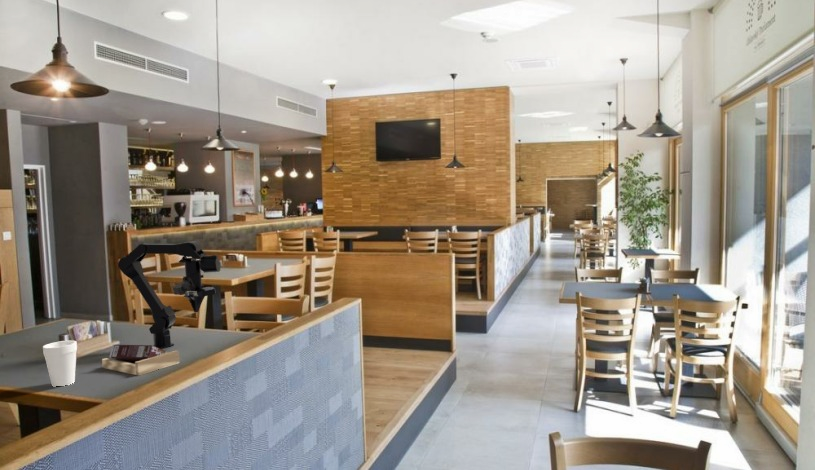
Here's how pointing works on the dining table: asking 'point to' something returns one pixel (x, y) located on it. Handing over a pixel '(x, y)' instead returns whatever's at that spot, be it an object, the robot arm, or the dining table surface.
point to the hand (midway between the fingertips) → (196, 312)
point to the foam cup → (61, 362)
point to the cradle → (143, 363)
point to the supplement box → (134, 352)
